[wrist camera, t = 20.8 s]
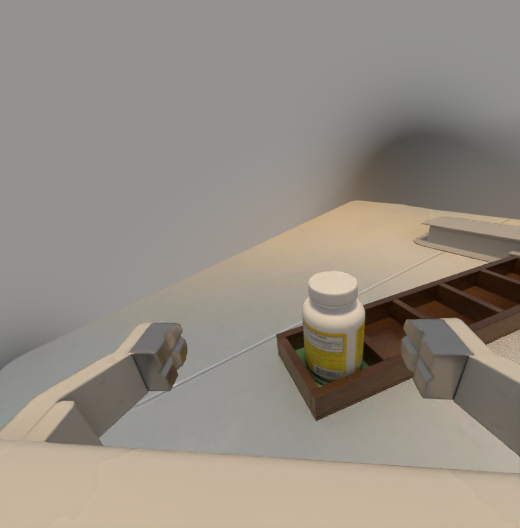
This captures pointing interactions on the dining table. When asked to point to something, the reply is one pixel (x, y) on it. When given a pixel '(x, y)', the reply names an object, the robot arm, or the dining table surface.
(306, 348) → the supplement bottle
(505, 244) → the grey hinged lid tray
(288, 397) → the dining table surface
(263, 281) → the dining table surface
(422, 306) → the rack
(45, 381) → the dining table surface
